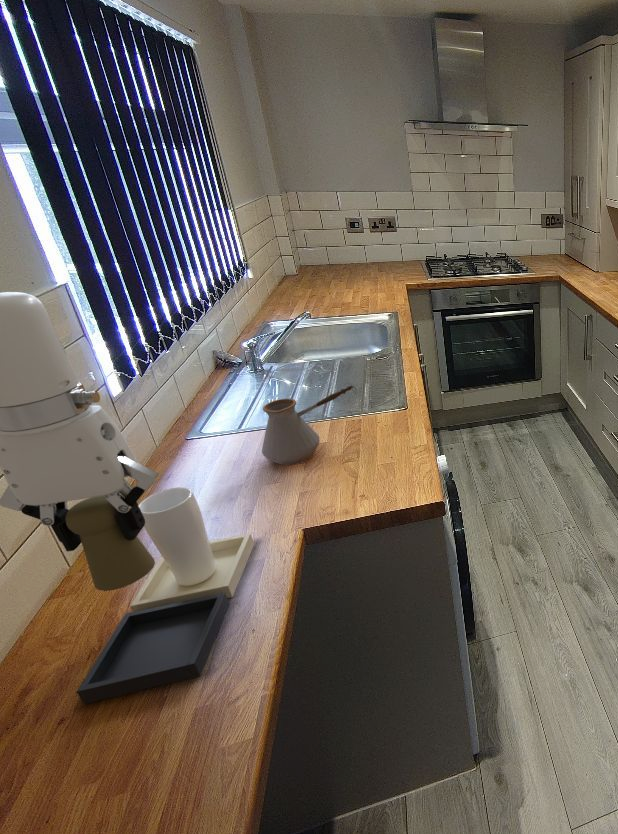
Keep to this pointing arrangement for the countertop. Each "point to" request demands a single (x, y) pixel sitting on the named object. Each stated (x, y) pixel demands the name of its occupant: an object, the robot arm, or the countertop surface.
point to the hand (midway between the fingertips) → (106, 537)
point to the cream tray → (224, 580)
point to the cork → (108, 545)
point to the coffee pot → (291, 431)
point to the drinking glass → (179, 534)
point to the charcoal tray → (156, 648)
